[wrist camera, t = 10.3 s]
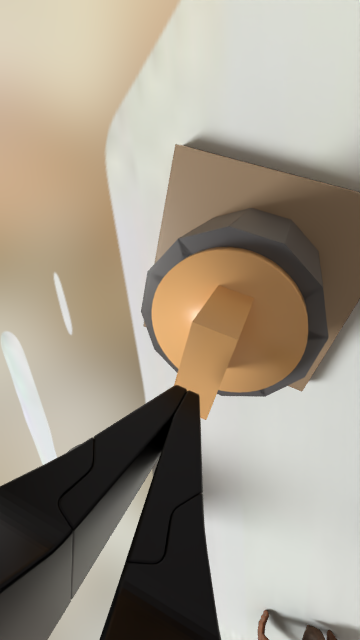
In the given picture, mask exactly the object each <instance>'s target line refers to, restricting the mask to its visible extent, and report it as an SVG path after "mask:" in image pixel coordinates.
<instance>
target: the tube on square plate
mask: <svg viewBox="0 0 360 640" xmlns="http://www.w3.org/2000/svg"><path fill="white" fill-rule="evenodd" d="M216 247H235V248H242V249H246V250H250V251H253V252H256V253H258V254H261V255H263V256H265V257H266V258H268V259H270V260H272V261H273V262H275V263H276V264H277V265H279V266H280V267H281V268H282V269H283V270H284V271H285V272H286V273H287V274H288V275H289V276H290V277H291V278H292V279H293V281H294V282H295V283H296V285H297V286H298V288H299V290H300V292H301V294H302V296H303V299H304V301H305V304H306V309H307V313H308V338H307V344H306V348H305V351H304V354H303V356H302V358H301V360H300V361H299V363H298V364H297V366H296V367H295V368H294V370H293V371H292V372H291V373H290V374H289V375H288V376H286V377H285V378H284V379H282V380H281V381H279V382H278V383H276V384H274V385H272V386H270V387H267V388H264V389H261V390H257V391H251V392H227V391H221V390H218V392H217V394H219V395H221V396H267V395H269V394H271V393H273V392H275V391H277V390H280V389H282V388H284V387H286V386H290V387H292V388H295V389H297V390H300V391H303V389H304V388H305V386H306V384H307V383H308V381H309V380H310V378H311V376H312V375H313V373H314V371H315V370H316V368H317V367H318V365H319V363H320V362H321V360H322V359H323V357H324V355H325V354H326V352H327V351H328V349H329V347H330V346H331V344H332V343H333V341H334V339H335V338H336V336H337V335H338V333H339V331H340V330H341V328H342V327H343V325H344V323H345V322H346V320H347V319H348V317H349V315H350V314H351V312H352V311H353V309H354V307H355V306H356V304H357V303H358V301H359V299H360V192H357V191H353V190H349V189H345V188H341V187H338V186H334V185H330V184H326V183H323V182H319V181H315V180H311V179H308V178H304V177H300V176H296V175H293V174H289V173H285V172H281V171H278V170H274V169H270V168H266V167H262V166H259V165H255V164H251V163H247V162H244V161H240V160H236V159H232V158H229V157H225V156H221V155H217V154H214V153H210V152H206V151H202V150H199V149H195V148H191V147H187V146H183V145H177V144H175V150H174V156H173V161H172V167H171V173H170V178H169V184H168V190H167V195H166V201H165V207H164V212H163V218H162V224H161V229H160V235H159V241H158V246H157V252H156V258H155V263H154V265H153V266H152V267H151V269H150V270H149V271H148V273H147V279H146V285H145V291H144V297H143V303H142V309H141V313H142V316H143V318H144V327H147V330H148V332H149V335H150V338H151V341H152V344H153V346H154V349H155V350H156V351H157V352H158V353H159V354H160V355H161V356H162V358H163V359H164V360H165V361H166V362H167V363H168V364H169V365H170V366H171V367H172V368H173V369H174V370H175V371H176V372H177V373H178V370H179V369H178V368H177V367H176V366H175V365H174V364H173V363H172V362H171V361H170V360H169V359H168V357H167V356H166V355H165V353H164V352H163V350H162V348H161V347H160V345H159V343H158V341H157V338H156V336H155V332H154V329H153V324H152V303H153V299H154V295H155V292H156V290H157V287H158V285H159V284H160V282H161V281H162V279H163V278H164V276H165V275H166V274H167V273H168V272H169V271H170V270H171V269H172V268H173V267H174V266H176V265H177V264H178V263H179V262H181V261H182V260H184V259H185V258H187V257H188V256H190V255H192V254H194V253H196V252H199V251H202V250H205V249H209V248H216Z"/></svg>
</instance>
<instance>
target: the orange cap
mask: <svg viewBox="0 0 360 640" xmlns="http://www.w3.org/2000/svg"><path fill="white" fill-rule="evenodd" d="M152 324H153V329H154V332H155V336H156V338H157V341H158V343H159V345H160V347H161V348H162V350H163V352H164V353H165V355H166V356H167V357H168V359H169V360H170V361H171V362H172V363H173V364H174V365H175V366H176V367H177V368H178V369H179V370H178V374H177V377H176V381H175V384H174V386H175V385H179V386H181V387H183V388H186V389H187V391H188V390H190V391H193V392H195V393H197V394H199V396H200V418H203V419H205V420H206V419H207V417H208V414H209V412H210V409H211V407H212V404H213V402H214V399H215V397H216V394H217V392H218V390H221V391H227V392H251V391H257V390H261V389H264V388H267V387H270V386H272V385H274V384H276V383H278V382H279V381H281V380H282V379H284V378H285V377H286V376H288V375H289V374H290V373H291V372H292V371H293V370H294V368H295V367H296V366H297V364H298V363H299V361H300V360H301V358H302V356H303V354H304V351H305V348H306V344H307V338H308V313H307V309H306V304H305V301H304V299H303V296H302V294H301V292H300V290H299V288H298V286H297V285H296V283H295V282H294V281H293V279H292V278H291V277H290V276H289V275H288V274H287V273H286V272H285V271H284V270H283V269H282V268H281V267H280V266H279V265H277V264H276V263H275V262H273V261H272V260H270V259H268V258H266V257H265V256H263V255H261V254H258V253H256V252H253V251H250V250H246V249H242V248H235V247H216V248H209V249H205V250H202V251H199V252H196V253H194V254H192V255H190V256H188V257H187V258H185V259H184V260H182V261H181V262H179V263H178V264H177V265H176V266H174V267H173V268H172V269H171V270H170V271H169V272H168V273H167V274H166V275H165V276H164V278H163V279H162V281H161V282H160V284H159V285H158V287H157V290H156V292H155V295H154V299H153V303H152Z"/></svg>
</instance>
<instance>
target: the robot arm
mask: <svg viewBox="0 0 360 640" xmlns="http://www.w3.org/2000/svg"><path fill="white" fill-rule="evenodd" d="M159 456H160V457H159ZM158 458H159V461H158V464H157V467H156V470H155V473H154V476H153V479H152V482H151V485H150V488H149V491H148V494H147V498H146V500H145V504H144V507H143V510H142V513H141V516H140V519H139V522H138V525H137V528H136V532H135V534H134V537H133V540H132V544H131V547H130V550H129V553H128V556H127V559H126V562H125V565H124V568H123V571H122V574H121V577H120V580H119V584H118V586H117V589H116V593H115V596H114V599H113V601H112V605H111V607H110V610H109V613H108V616H107V619H106V622H105V625H104V628H103V631H102V634H101V637H100V640H221V636H220V631H219V626H218V620H217V614H216V607H215V600H214V594H213V587H212V580H211V573H210V566H209V560H208V553H207V544H206V536H205V526H204V510H203V494H202V492H203V485H202V454H201V422H200V396H199V394H197V393H195V392H193V391H190V390H188V391H187V389H186V388H183V387H181V386H179V385H175V386H173V387H171V388H170V389H168V390H167V391H165V392H163V393H162V394H160V395H159V396H157V397H155V398H154V399H152V400H151V401H149V402H148V403H146V404H144V405H143V406H141V407H140V408H138V409H137V410H135V411H133V412H132V413H130V414H129V415H127V416H126V417H124V418H122V419H121V420H119V421H117V422H116V423H114V424H113V425H111V426H110V427H108V428H107V429H105V430H103V431H102V432H100V433H99V434H97V435H95V436H94V438H90V439H89V440H87V441H86V442H84V443H83V444H81V445H79V446H78V447H76V448H74V449H72V450H71V451H69V452H67V453H66V454H64V455H62V456H60V457H58V458H56V459H54V460H52V461H50V462H48V463H47V464H45V465H43V466H41V467H39V468H36V469H35V470H32V471H30V472H28V473H26V474H24V475H22V476H20V477H18V478H16V479H14V480H12V481H10V482H8V483H6V484H4V485H2V486H0V640H47V639H48V638H49V636H50V635H51V633H52V631H53V630H54V628H55V626H56V624H57V623H58V621H59V620H60V618H61V616H62V615H63V613H64V612H65V610H66V608H67V607H68V605H69V603H70V602H71V599H72V598H73V597H74V595H75V594H76V592H77V590H78V589H79V587H80V585H81V584H82V582H83V580H84V579H85V577H86V576H87V574H88V572H89V571H90V569H91V567H92V566H93V564H94V562H95V561H96V559H97V558H98V556H99V554H100V553H101V551H102V549H103V548H104V546H105V545H106V543H107V541H108V540H109V538H110V536H111V535H112V533H113V531H114V530H115V528H116V527H117V525H118V523H119V522H120V520H121V518H122V517H123V515H124V513H125V512H126V510H127V508H128V507H129V505H130V504H131V502H132V500H133V499H134V497H135V496H136V494H137V492H138V491H139V489H140V487H141V485H142V484H143V482H144V481H145V479H146V478H147V476H148V474H149V473H150V471H151V469H152V468H153V466H154V464H155V463H156V461H157V460H158Z"/></svg>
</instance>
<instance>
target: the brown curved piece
mask: <svg viewBox="0 0 360 640" xmlns="http://www.w3.org/2000/svg"><path fill="white" fill-rule="evenodd" d="M268 617H269V613H268V611H267V610H265V611H264V612H263V615H262V616H261V619H260V621H259V626H258V640H269V639H268V638H267V637H266V636H265V635H264V633H265V625H266V622H267V620H268ZM302 640H325V638H324V636H323V634H322V632H321V631H320V630H319V629H317V628H315V627H313V626H310V625H307V627H306V630H305V632H304V635H303V638H302ZM327 640H337V639H336V637H335V636H334V635H333V633H332V632H331V631H330V630H328V631H327Z"/></svg>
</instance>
